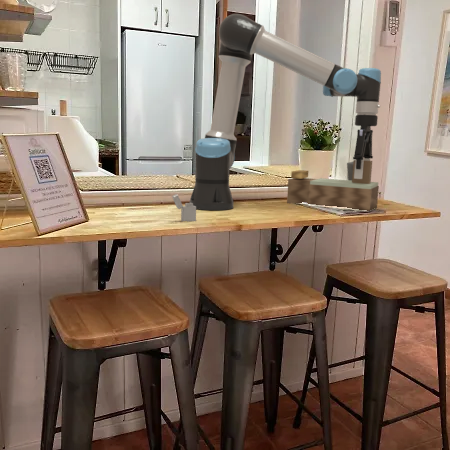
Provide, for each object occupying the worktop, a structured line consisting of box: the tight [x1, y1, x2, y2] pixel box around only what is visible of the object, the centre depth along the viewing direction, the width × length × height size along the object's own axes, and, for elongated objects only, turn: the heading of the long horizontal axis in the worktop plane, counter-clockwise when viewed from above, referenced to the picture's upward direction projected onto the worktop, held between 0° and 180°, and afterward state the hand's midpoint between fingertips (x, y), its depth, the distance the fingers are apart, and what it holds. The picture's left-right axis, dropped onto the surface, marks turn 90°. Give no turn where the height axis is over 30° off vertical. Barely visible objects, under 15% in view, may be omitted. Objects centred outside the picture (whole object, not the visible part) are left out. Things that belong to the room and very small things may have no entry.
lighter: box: [171, 193, 197, 222], centre depth 148 cm, size 7×2×8 cm, turn 116°
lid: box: [310, 159, 379, 189], centre depth 184 cm, size 22×14×11 cm, turn 63°
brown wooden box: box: [286, 177, 380, 212], centre depth 187 cm, size 31×14×9 cm, turn 63°
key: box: [290, 169, 309, 179], centre depth 192 cm, size 4×8×2 cm, turn 153°
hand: (361, 177), depth 182 cm, fingers open, 11 cm apart
